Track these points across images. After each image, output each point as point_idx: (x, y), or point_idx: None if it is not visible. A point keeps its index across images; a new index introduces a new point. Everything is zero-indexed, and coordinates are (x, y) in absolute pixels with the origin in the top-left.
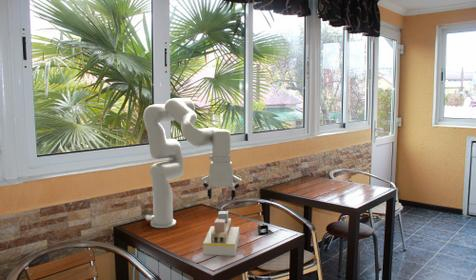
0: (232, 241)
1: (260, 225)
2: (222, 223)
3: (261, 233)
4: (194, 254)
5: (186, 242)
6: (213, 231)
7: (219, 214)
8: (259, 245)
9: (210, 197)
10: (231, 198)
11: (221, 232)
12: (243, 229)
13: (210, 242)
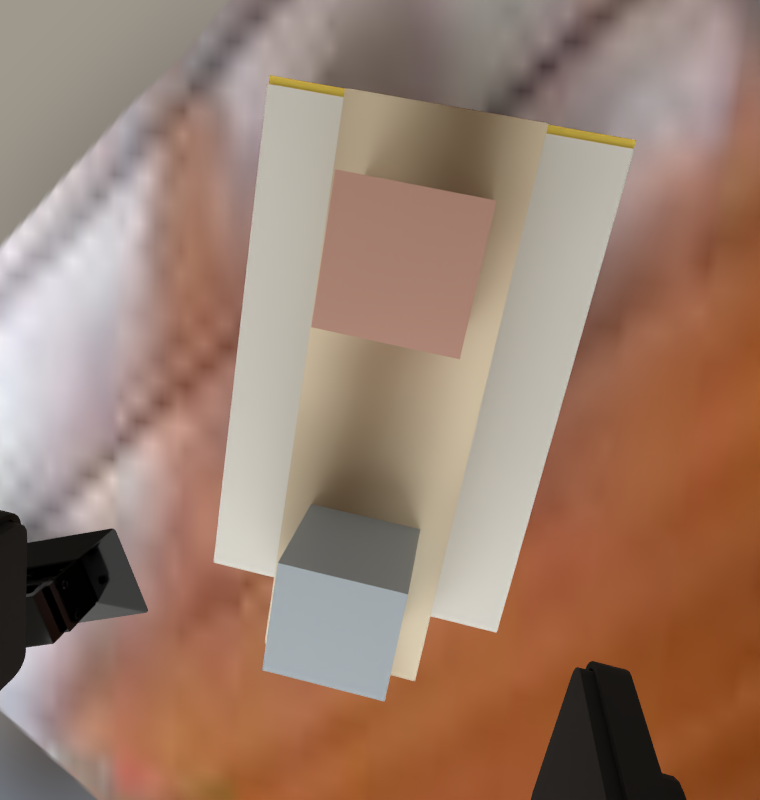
0: (292, 163)
1: (34, 603)
2: (364, 175)
3: (69, 556)
4: (698, 174)
5: (742, 480)
6: (507, 207)
7: (390, 584)
8: (88, 320)
9: (585, 690)
10: (4, 531)
11: (400, 154)
12: (211, 670)
13: (544, 155)
